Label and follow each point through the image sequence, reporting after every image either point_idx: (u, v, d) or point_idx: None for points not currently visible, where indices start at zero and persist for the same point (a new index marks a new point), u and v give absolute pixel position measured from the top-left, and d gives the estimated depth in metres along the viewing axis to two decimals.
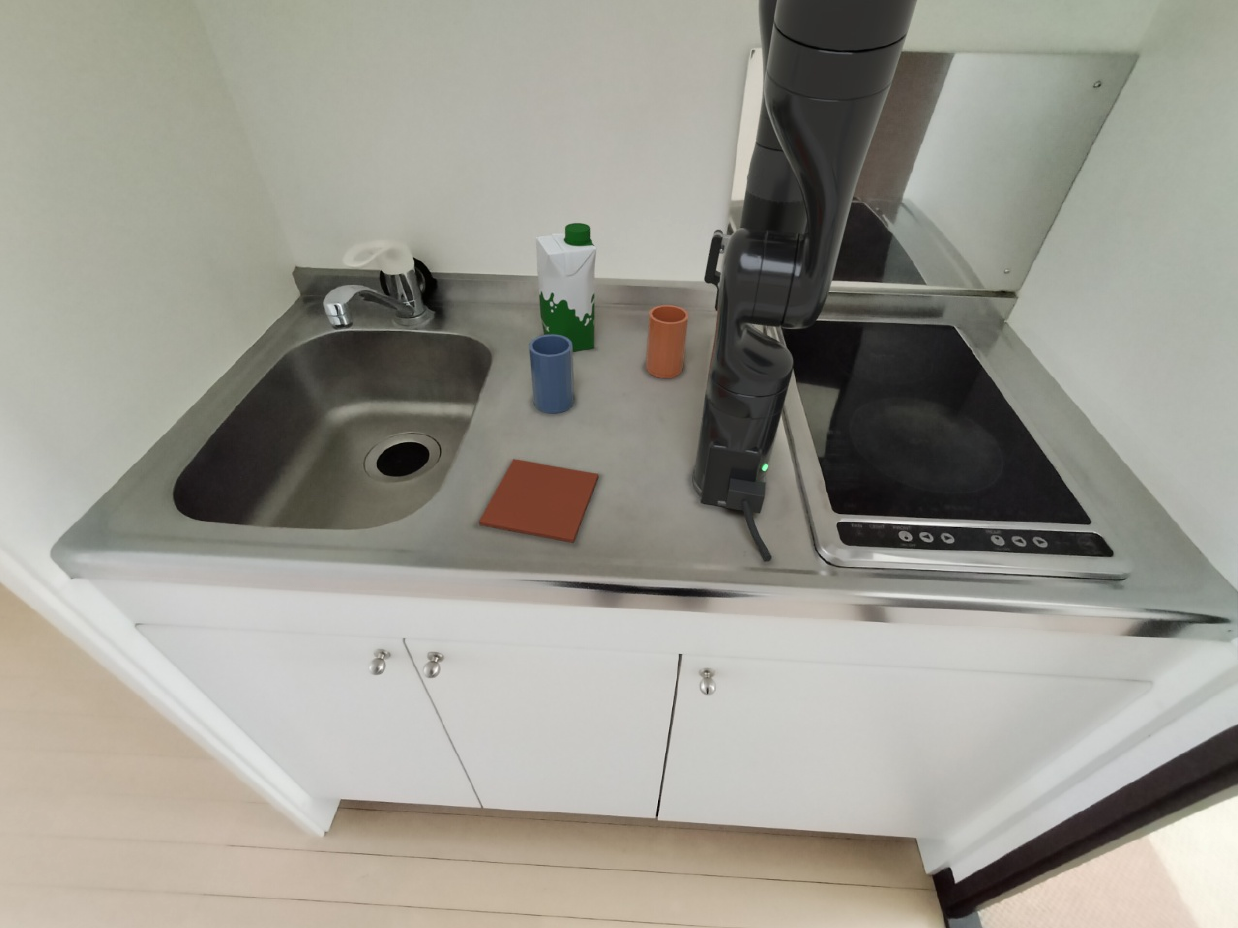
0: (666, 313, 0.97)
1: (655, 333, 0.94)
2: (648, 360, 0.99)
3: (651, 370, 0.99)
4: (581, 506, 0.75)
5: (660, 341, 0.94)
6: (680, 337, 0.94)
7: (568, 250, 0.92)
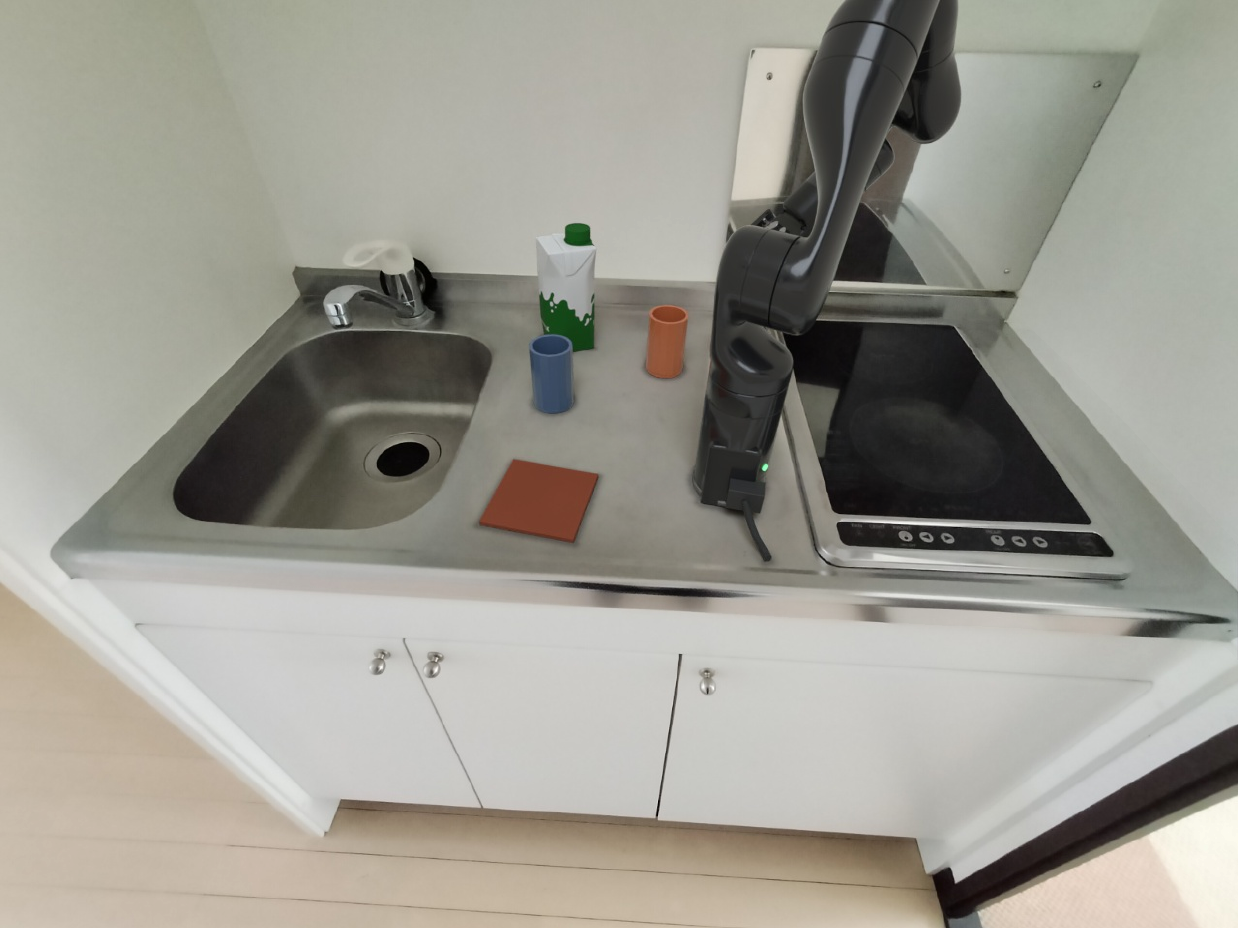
0: (666, 313, 0.97)
1: (655, 333, 0.94)
2: (648, 360, 0.99)
3: (651, 370, 0.99)
4: (581, 506, 0.75)
5: (660, 341, 0.94)
6: (680, 337, 0.94)
7: (568, 250, 0.92)
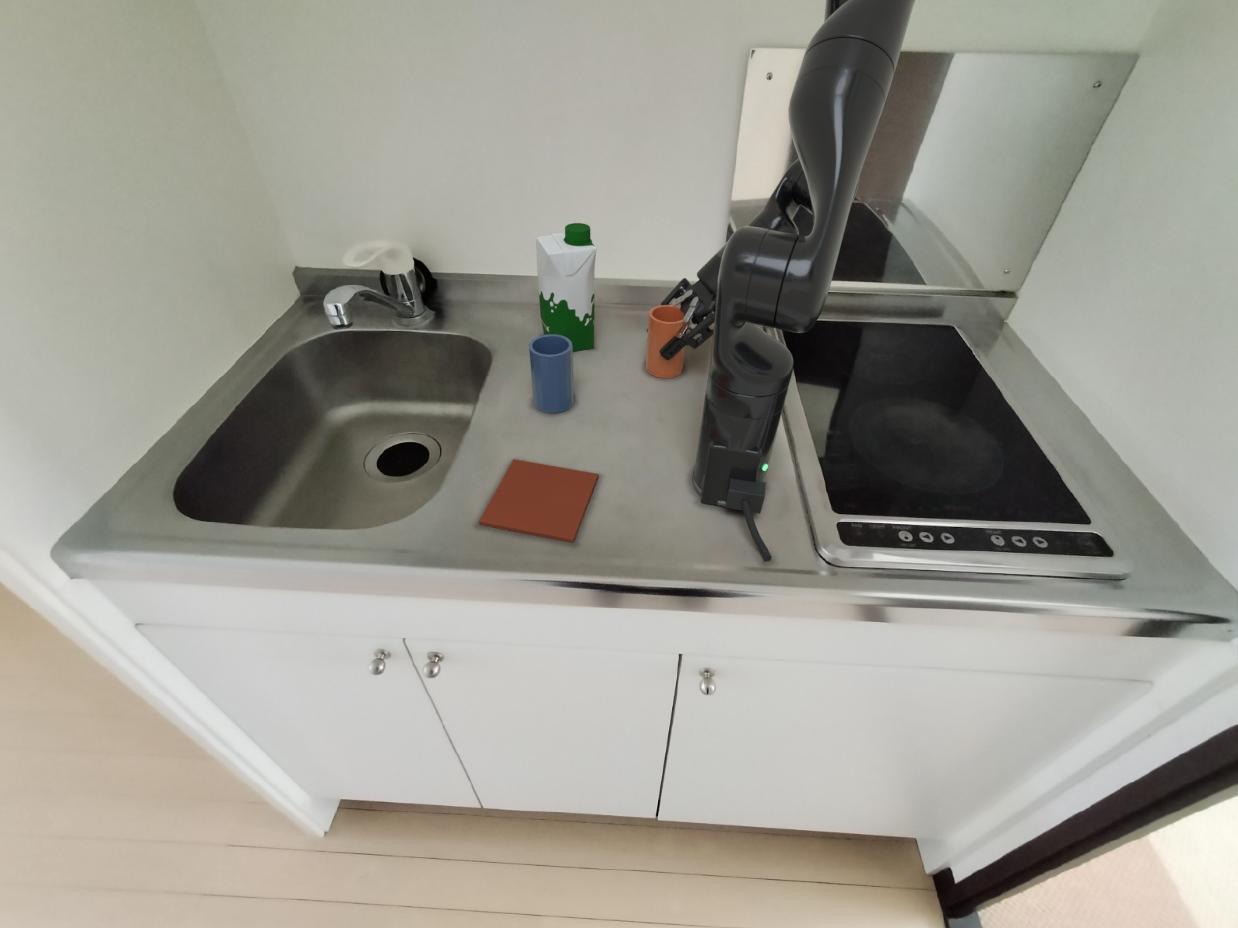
0: (666, 313, 0.97)
1: (655, 333, 0.94)
2: (648, 360, 0.99)
3: (651, 370, 0.99)
4: (581, 506, 0.75)
5: (660, 341, 0.94)
6: None
7: (568, 250, 0.92)
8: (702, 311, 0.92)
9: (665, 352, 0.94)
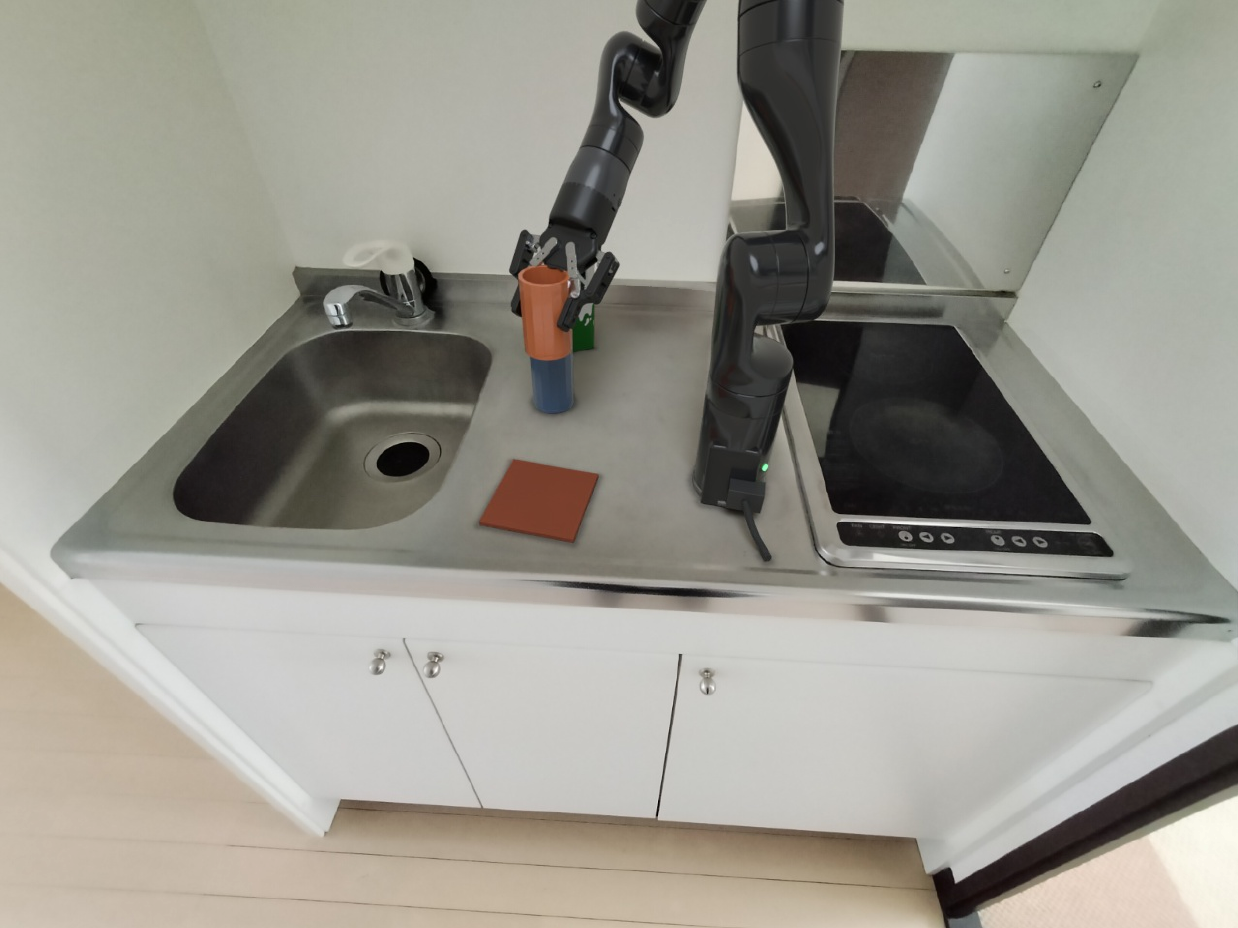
0: (531, 278, 0.74)
1: (544, 303, 0.71)
2: (536, 344, 0.75)
3: (544, 354, 0.76)
4: (581, 506, 0.75)
5: (552, 311, 0.72)
6: None
7: None
8: (587, 256, 0.72)
9: (566, 322, 0.72)
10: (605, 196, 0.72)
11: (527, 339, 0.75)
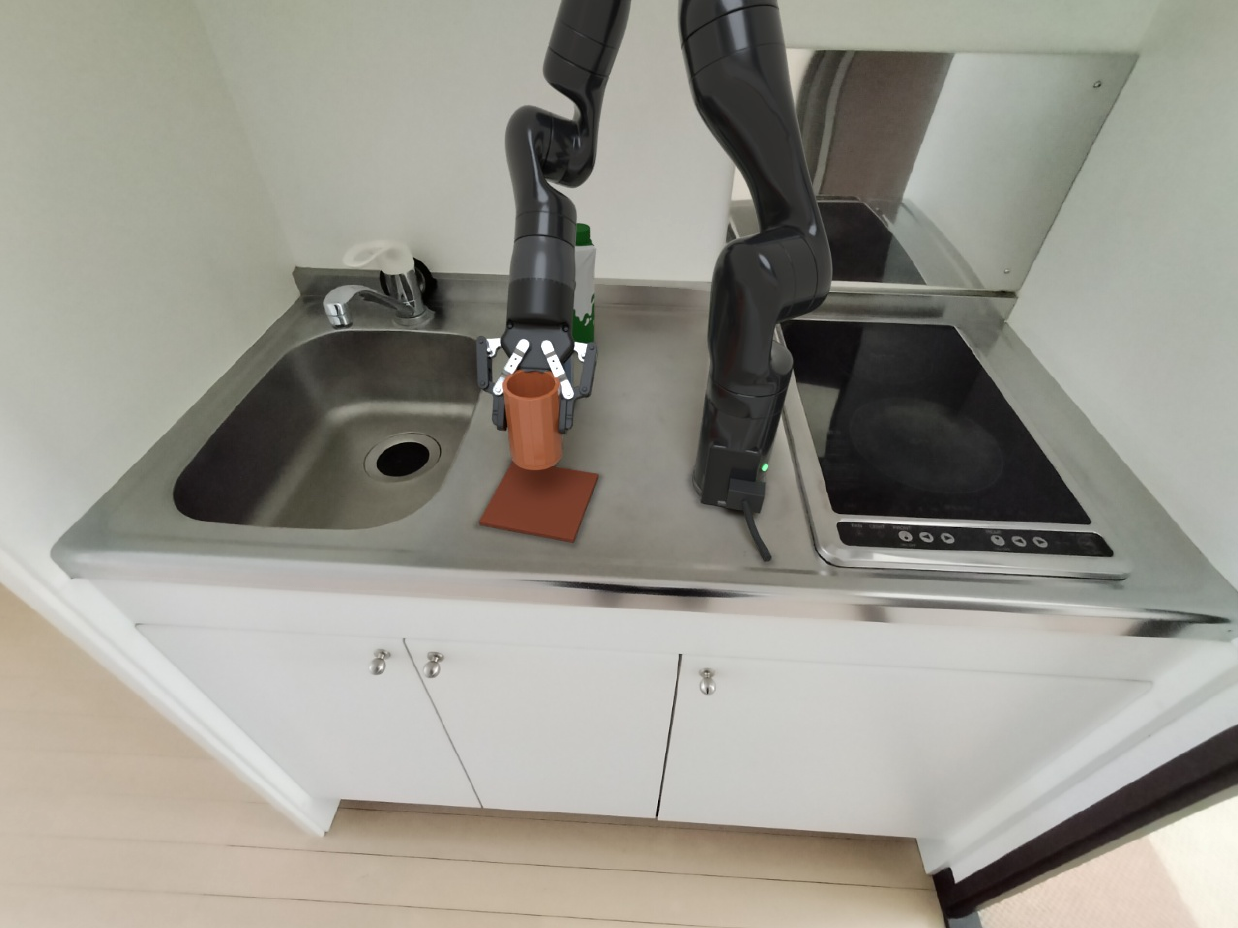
0: (510, 388, 0.67)
1: (544, 414, 0.65)
2: (536, 455, 0.68)
3: (545, 463, 0.69)
4: (581, 506, 0.75)
5: (552, 419, 0.66)
6: None
7: None
8: (566, 351, 0.67)
9: (567, 425, 0.67)
10: (567, 285, 0.67)
11: (522, 453, 0.68)
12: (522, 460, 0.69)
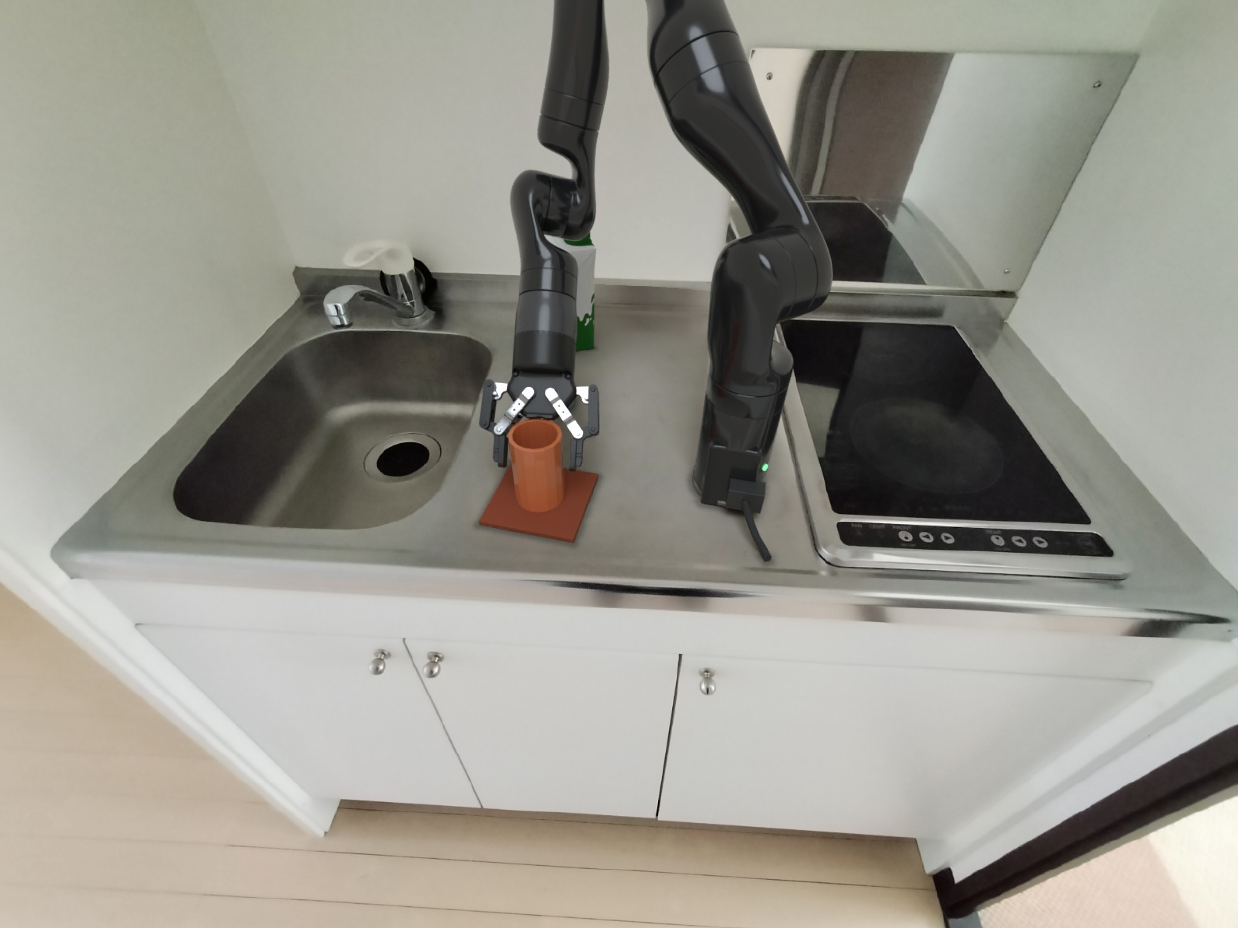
0: (515, 438, 0.71)
1: (547, 463, 0.69)
2: (539, 500, 0.73)
3: (548, 506, 0.74)
4: (581, 506, 0.75)
5: (554, 467, 0.71)
6: None
7: (568, 250, 0.92)
8: (569, 398, 0.71)
9: (577, 463, 0.71)
10: (569, 336, 0.71)
11: (527, 497, 0.73)
12: (527, 504, 0.74)
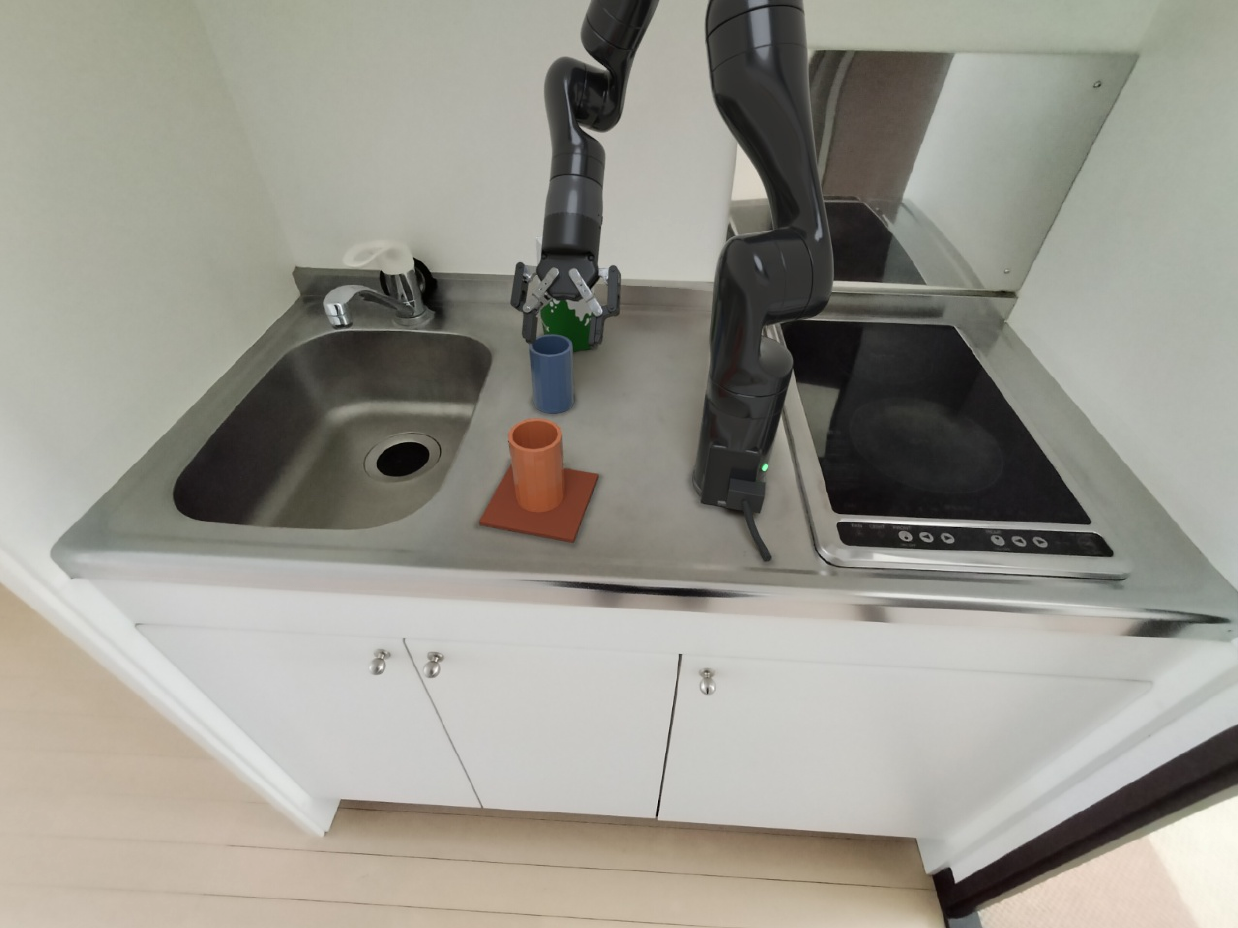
0: (515, 438, 0.71)
1: (547, 463, 0.69)
2: (539, 500, 0.73)
3: (548, 506, 0.74)
4: (581, 506, 0.75)
5: (554, 467, 0.71)
6: None
7: None
8: (591, 278, 0.77)
9: (596, 340, 0.77)
10: (592, 219, 0.76)
11: (527, 497, 0.73)
12: (527, 504, 0.74)
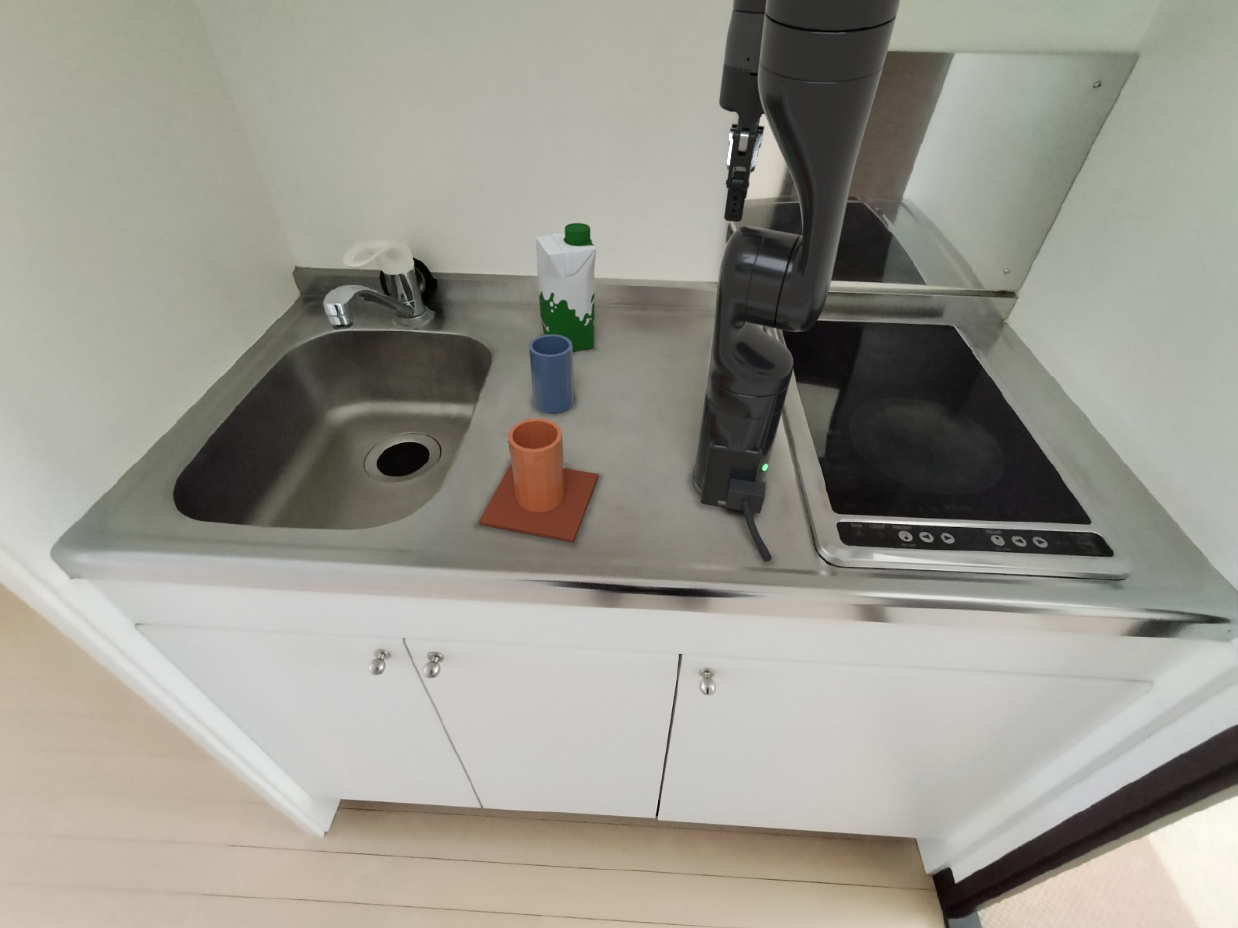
0: (515, 438, 0.71)
1: (547, 463, 0.69)
2: (539, 500, 0.73)
3: (548, 506, 0.74)
4: (581, 506, 0.75)
5: (554, 467, 0.71)
6: None
7: (568, 250, 0.92)
8: None
9: (727, 214, 0.74)
10: (738, 67, 0.66)
11: (527, 497, 0.73)
12: (527, 504, 0.74)
